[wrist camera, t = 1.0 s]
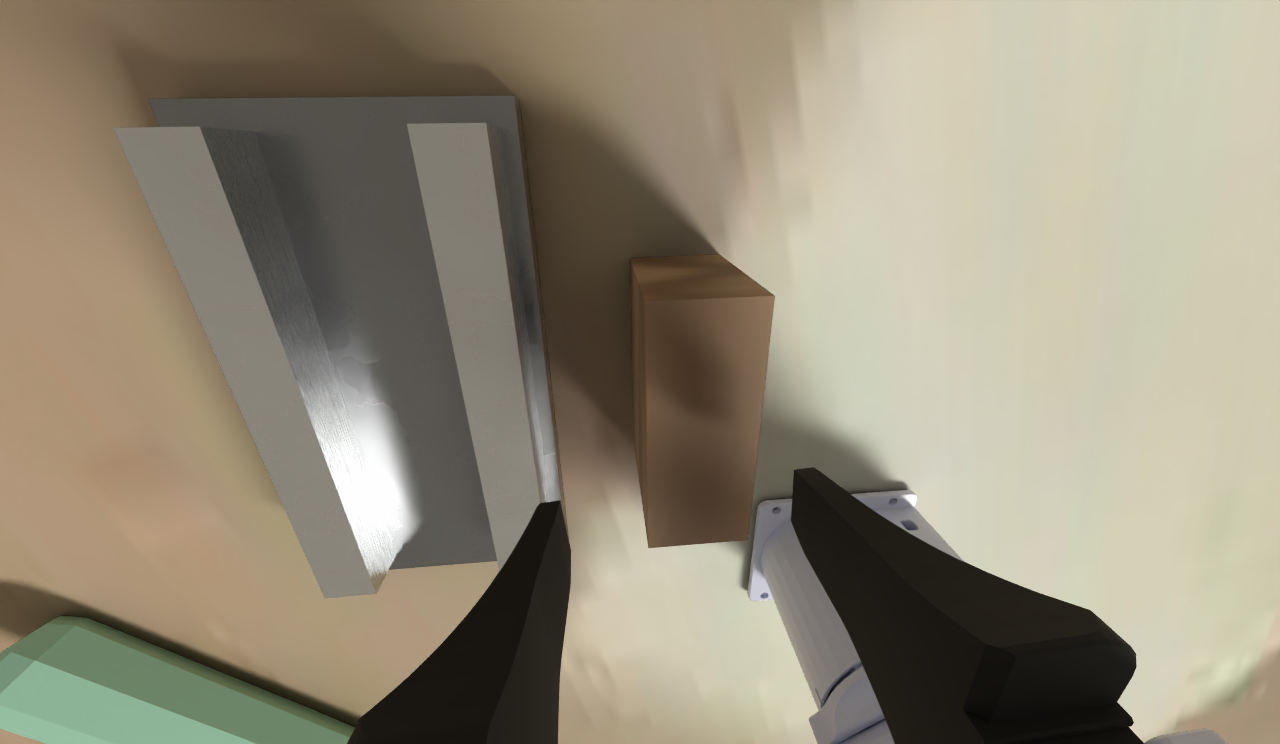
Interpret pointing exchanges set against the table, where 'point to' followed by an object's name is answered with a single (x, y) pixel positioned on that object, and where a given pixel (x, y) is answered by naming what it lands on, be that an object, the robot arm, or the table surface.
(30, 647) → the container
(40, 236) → the table surface
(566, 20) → the table surface
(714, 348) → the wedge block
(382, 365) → the slot base
